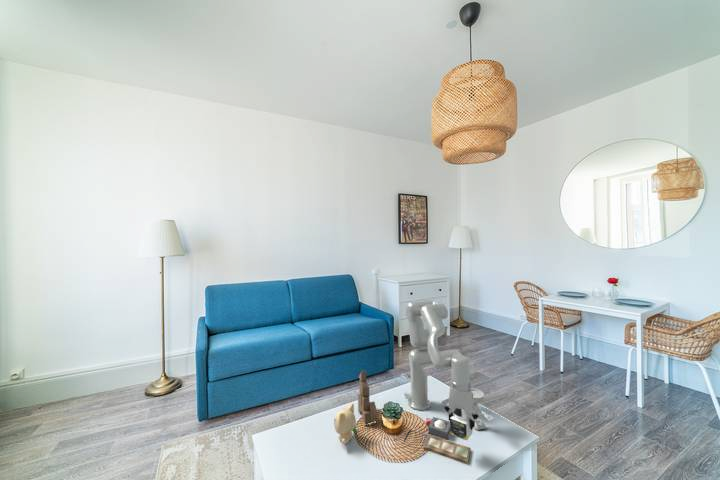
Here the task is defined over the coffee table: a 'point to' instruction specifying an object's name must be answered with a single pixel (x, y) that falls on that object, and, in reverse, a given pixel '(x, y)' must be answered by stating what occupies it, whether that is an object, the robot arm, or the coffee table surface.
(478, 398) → the cartoon character
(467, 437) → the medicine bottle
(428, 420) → the red die
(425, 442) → the frame
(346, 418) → the kitten
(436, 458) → the coffee table surface
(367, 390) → the wooden toy
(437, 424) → the dome
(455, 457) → the board
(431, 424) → the dome housing
